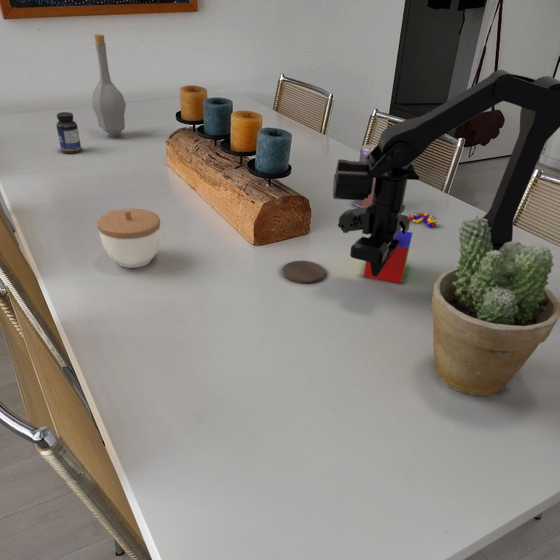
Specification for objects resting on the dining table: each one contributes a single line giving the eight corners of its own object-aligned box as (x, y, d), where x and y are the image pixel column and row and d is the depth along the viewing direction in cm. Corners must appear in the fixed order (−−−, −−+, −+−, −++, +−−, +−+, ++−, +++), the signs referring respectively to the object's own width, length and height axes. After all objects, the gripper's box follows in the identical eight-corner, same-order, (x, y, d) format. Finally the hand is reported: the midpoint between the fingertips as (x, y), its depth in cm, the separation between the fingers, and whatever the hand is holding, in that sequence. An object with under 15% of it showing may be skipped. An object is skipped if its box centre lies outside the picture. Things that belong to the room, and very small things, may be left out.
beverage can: (350, 206, 147) (357, 148, 138) (358, 199, 151) (365, 142, 142) (371, 210, 145) (379, 152, 136) (378, 203, 149) (387, 147, 140)
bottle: (137, 136, 189) (125, 35, 170) (113, 143, 181) (98, 38, 163) (113, 130, 194) (99, 31, 175) (89, 137, 186) (72, 34, 167)
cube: (363, 276, 116) (369, 241, 111) (370, 260, 122) (375, 226, 117) (401, 283, 115) (408, 248, 110) (405, 266, 121) (412, 232, 116)
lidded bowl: (173, 252, 121) (169, 204, 114) (147, 278, 112) (141, 227, 105) (122, 243, 124) (114, 196, 117) (92, 268, 114) (82, 218, 107)
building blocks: (426, 213, 145) (427, 207, 144) (442, 226, 139) (444, 219, 138) (405, 216, 143) (406, 210, 142) (420, 228, 137) (422, 222, 136)
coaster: (314, 287, 112) (314, 284, 111) (275, 276, 115) (275, 273, 114) (331, 269, 118) (331, 267, 118) (293, 259, 121) (293, 257, 121)
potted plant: (536, 366, 94) (595, 229, 78) (514, 429, 81) (578, 281, 65) (434, 332, 101) (469, 200, 85) (398, 385, 88) (431, 242, 72)
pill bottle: (60, 149, 174) (52, 112, 168) (79, 147, 177) (73, 110, 170) (63, 154, 170) (55, 117, 163) (83, 153, 172) (76, 115, 165)
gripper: (363, 178, 110) (354, 248, 120) (328, 208, 97) (320, 285, 107) (417, 188, 107) (402, 261, 117) (388, 221, 94) (374, 299, 103)
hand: (375, 275), depth 111 cm, fingers closed
